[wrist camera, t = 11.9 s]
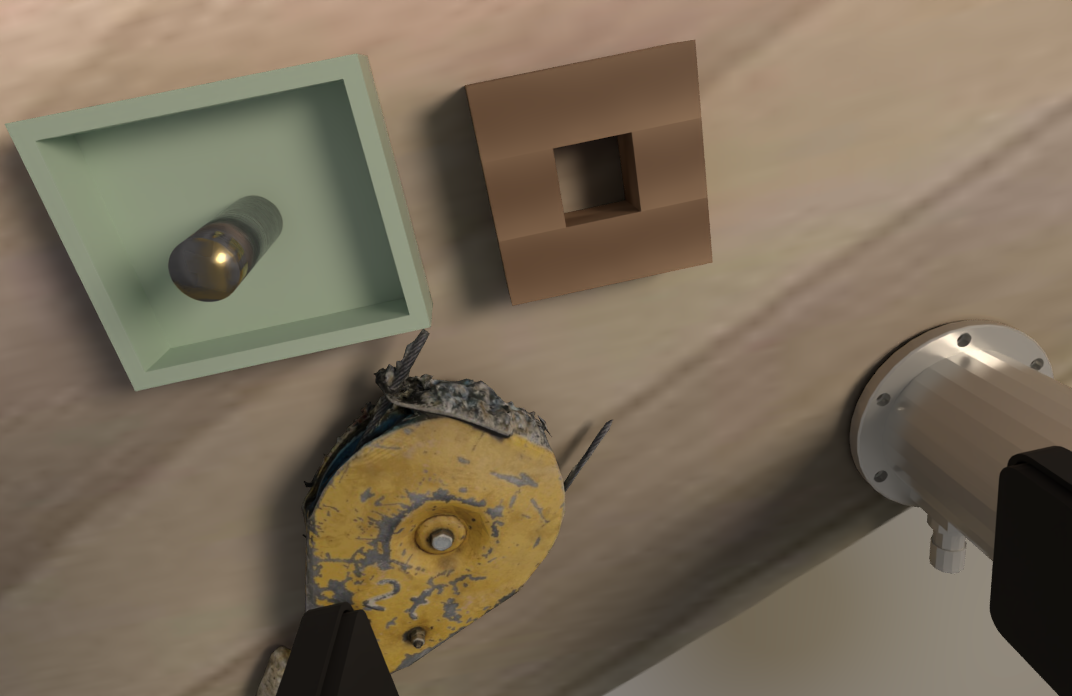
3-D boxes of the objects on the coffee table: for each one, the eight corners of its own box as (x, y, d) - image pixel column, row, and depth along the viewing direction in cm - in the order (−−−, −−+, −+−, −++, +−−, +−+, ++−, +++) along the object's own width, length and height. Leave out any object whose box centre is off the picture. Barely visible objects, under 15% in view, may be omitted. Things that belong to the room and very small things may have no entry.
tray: (432, 303, 34) (430, 327, 31) (165, 361, 34) (135, 391, 30) (367, 56, 29) (356, 53, 26) (54, 118, 29) (4, 124, 26)
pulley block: (146, 784, 36) (412, 351, 28) (171, 690, 41) (402, 300, 33) (378, 807, 42) (648, 457, 35) (375, 723, 47) (610, 401, 40)
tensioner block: (691, 247, 35) (712, 262, 32) (507, 287, 34) (512, 305, 31) (673, 43, 31) (695, 39, 28) (464, 85, 30) (465, 86, 27)
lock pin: (289, 240, 31) (249, 294, 24) (239, 250, 31) (183, 307, 24) (273, 191, 30) (225, 232, 23) (221, 200, 30) (157, 245, 23)
